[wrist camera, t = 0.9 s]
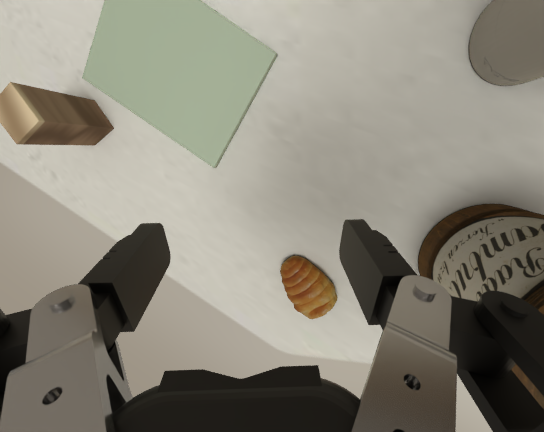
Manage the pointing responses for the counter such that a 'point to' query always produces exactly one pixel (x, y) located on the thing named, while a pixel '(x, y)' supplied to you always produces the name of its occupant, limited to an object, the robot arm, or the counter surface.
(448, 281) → the wooden container
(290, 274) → the pastry
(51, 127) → the walnut block
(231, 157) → the counter surface
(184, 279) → the counter surface
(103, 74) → the green board
